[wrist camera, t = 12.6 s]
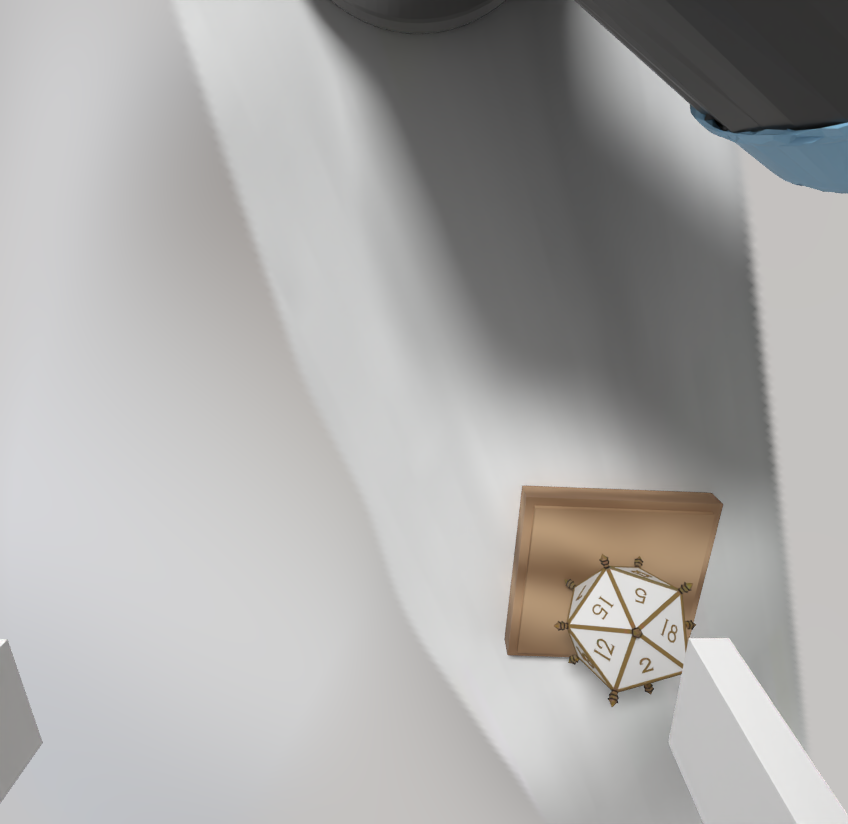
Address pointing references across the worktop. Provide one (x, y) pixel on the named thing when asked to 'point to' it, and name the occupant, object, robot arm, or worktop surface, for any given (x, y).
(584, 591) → the game die
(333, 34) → the worktop surface
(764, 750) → the robot arm
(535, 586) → the plate
